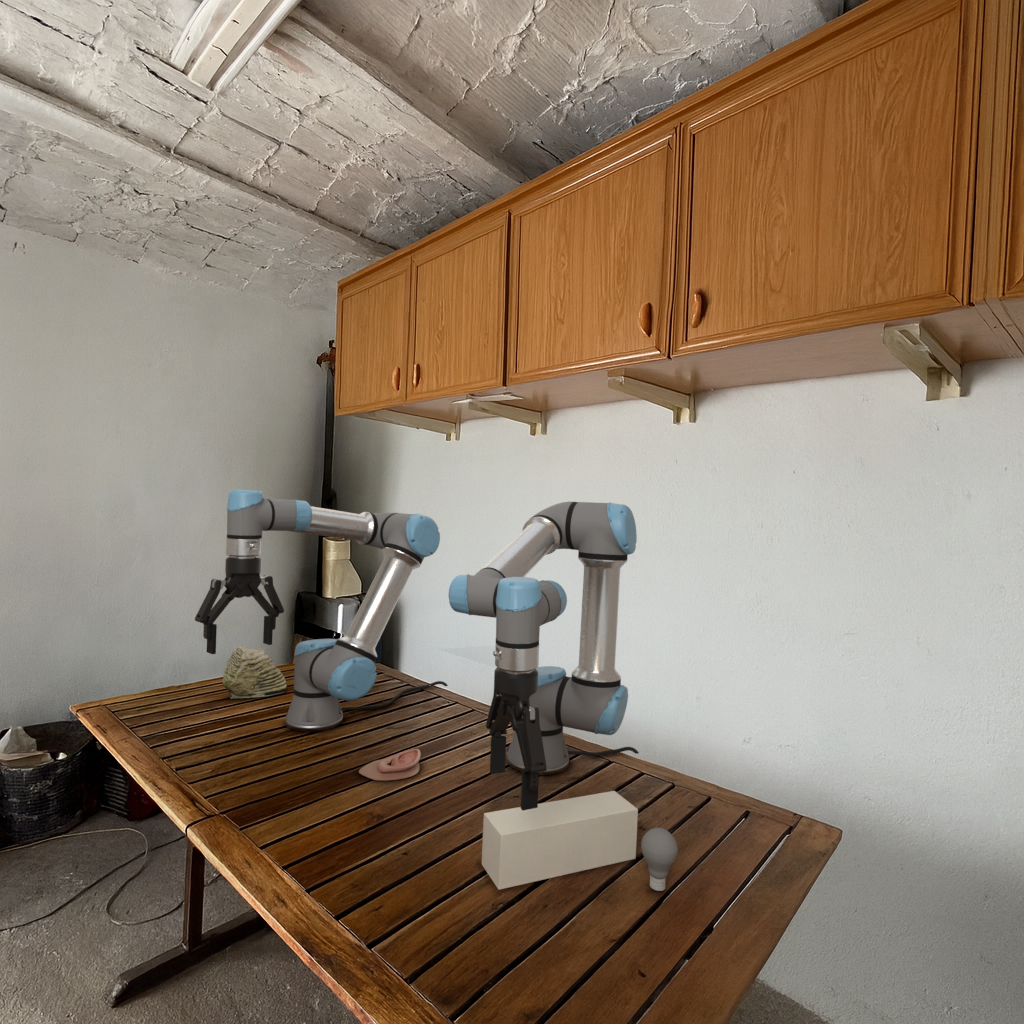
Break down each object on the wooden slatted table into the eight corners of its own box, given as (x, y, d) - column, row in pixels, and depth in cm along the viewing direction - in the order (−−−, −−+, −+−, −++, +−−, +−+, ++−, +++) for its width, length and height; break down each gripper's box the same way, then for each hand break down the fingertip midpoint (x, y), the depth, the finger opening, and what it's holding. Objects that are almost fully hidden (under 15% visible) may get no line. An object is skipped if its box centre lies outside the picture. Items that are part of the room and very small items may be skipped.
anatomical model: (353, 759, 143) (374, 741, 154) (352, 777, 143) (373, 757, 154) (408, 767, 140) (426, 748, 152) (408, 785, 140) (425, 764, 152)
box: (612, 837, 123) (614, 790, 123) (635, 858, 116) (638, 809, 115) (481, 864, 112) (483, 813, 111) (498, 889, 104) (501, 835, 104)
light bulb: (635, 878, 109) (637, 820, 109) (668, 878, 110) (671, 820, 109) (645, 900, 103) (648, 839, 103) (680, 900, 104) (683, 839, 103)
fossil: (218, 695, 195) (220, 647, 195) (278, 685, 208) (279, 640, 207) (228, 703, 189) (230, 653, 188) (289, 692, 201) (290, 645, 201)
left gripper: (196, 560, 134) (193, 660, 134) (300, 555, 153) (297, 643, 154) (180, 557, 139) (177, 653, 139) (283, 553, 158) (280, 637, 158)
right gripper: (471, 651, 119) (467, 762, 120) (527, 693, 96) (522, 830, 97) (507, 648, 122) (504, 756, 123) (570, 688, 99) (566, 821, 100)
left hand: (240, 648), depth 146 cm, fingers open, 13 cm apart
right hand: (512, 789), depth 110 cm, fingers open, 13 cm apart
